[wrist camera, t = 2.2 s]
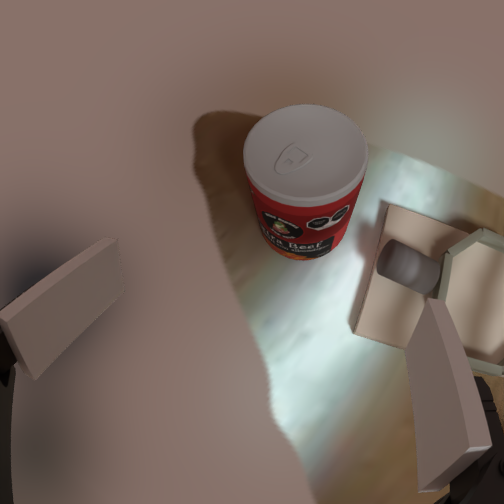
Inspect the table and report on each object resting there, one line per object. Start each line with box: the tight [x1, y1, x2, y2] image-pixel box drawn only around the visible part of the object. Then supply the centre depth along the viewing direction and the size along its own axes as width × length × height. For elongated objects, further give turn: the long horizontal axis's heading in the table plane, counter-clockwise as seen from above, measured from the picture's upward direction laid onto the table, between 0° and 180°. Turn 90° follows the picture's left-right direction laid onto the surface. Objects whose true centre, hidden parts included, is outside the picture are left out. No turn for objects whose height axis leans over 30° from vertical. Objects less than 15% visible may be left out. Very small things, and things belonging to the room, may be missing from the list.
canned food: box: [243, 104, 368, 260], centre depth 23 cm, size 8×8×11 cm
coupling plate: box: [353, 204, 504, 377], centre depth 21 cm, size 24×13×5 cm, turn 68°
